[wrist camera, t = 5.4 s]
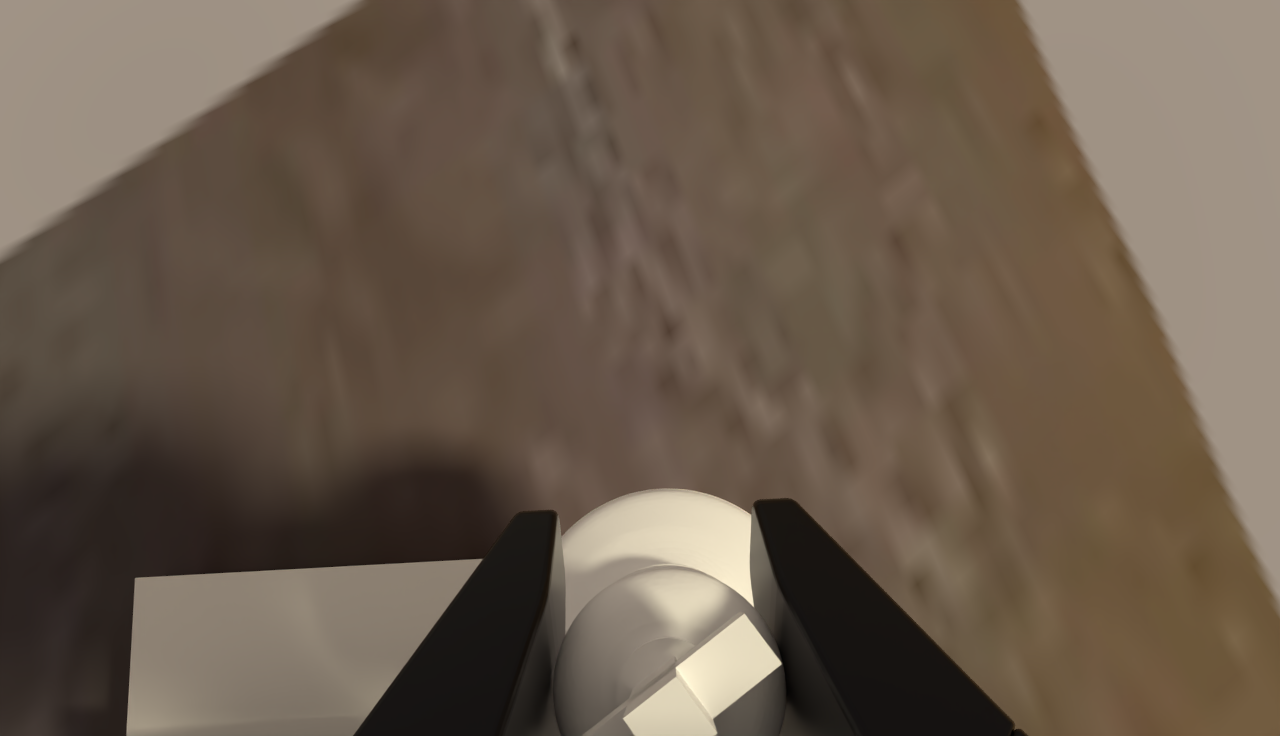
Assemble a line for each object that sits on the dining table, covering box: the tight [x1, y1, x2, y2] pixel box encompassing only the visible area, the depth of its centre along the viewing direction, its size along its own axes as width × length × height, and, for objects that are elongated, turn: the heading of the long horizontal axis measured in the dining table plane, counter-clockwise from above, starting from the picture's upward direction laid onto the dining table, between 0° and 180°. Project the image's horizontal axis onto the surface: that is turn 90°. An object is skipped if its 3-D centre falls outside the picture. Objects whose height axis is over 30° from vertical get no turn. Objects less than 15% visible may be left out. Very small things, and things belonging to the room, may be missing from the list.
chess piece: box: [553, 488, 786, 736], centre depth 11 cm, size 5×5×10 cm
